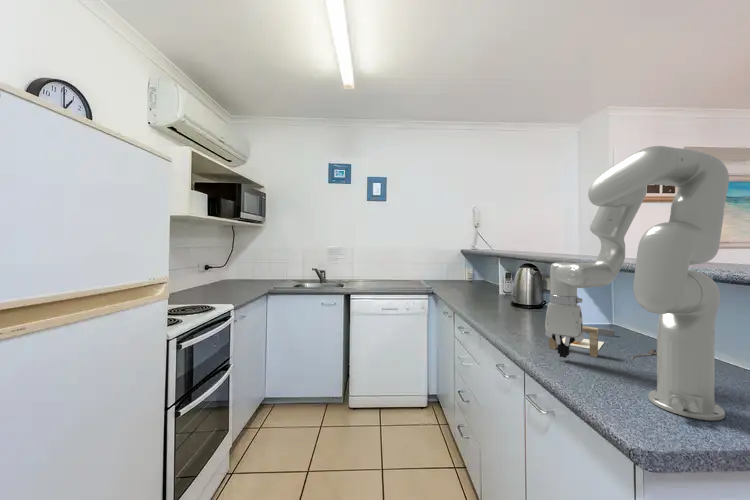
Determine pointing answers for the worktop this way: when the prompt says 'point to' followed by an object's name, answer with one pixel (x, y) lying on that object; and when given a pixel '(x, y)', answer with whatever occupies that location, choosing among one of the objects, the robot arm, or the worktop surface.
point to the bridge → (593, 341)
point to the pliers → (651, 352)
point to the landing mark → (584, 343)
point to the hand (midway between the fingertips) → (563, 356)
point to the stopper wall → (604, 331)
